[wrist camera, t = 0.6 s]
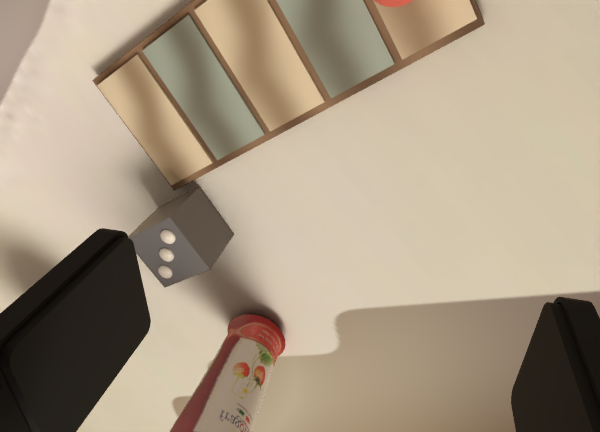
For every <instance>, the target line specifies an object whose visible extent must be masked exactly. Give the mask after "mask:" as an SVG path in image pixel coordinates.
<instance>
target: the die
mask: <svg viewBox="0 0 600 432" xmlns="http://www.w3.org/2000/svg"><path fill="white" fill-rule="evenodd" d="M233 235H234V233H233V232H232V231H231V229H230V228H229V227H228V225H227V224H226V222H225V221H224V220H223V218H222V217H221V215H220V214H219V213H218V211H217V210H216V208H215V207H214V206H213V204H212V203H211V202H210V200H209V199H208V197H207V196H206V195H205V193H204V192H203V190H202V189H201V188H200V186H199V187H198V188H196V189H194V190H192V191H190V192H188V193H186V194H184V195H182V196H180V197H178V198H176V199H175V200H173V201H171V202H169V203H167V204H165V205H163V206H161V207H159V208H158V209H157V210H156V211H154V212H153V213H152V214H151V215H150V216H149V217H148V218H147V219H146V220H145V221H144V222H143V223H142V224H141V225H140V226H139V227H138V228H137V229H136V230H135V231H134V232H133V233H132V234H130V235H129V236H128V238H129V239H131V240H132V241H133V243H134V247H135V252H136V253H137V255H138V256H139V257H140V258H141V259H142V261H143V262H144V263H145V264H146V266H147V267H148V268H149V269H150V270H151V272H152V273H153V274H154V275H155V276H156V278H157V279H158V280H159V281H160V282H161V284H162V285H163V286H164V287H167V286H170V285H172V284H175V283H177V282H180V281H182V280H185V279H187V278H190V277H192V276H195V275H197V274H200V273H202V272H205V271H207V270H210V269H211V267H212V266H213V264H214V263H215V261H216V260H217V258H218V257H219V256H220V254H221V253H222V251H223V250H224V248H225V247H226V245H227V244H228V242H229V241H230V240H231V238H232V237H233Z"/></svg>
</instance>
